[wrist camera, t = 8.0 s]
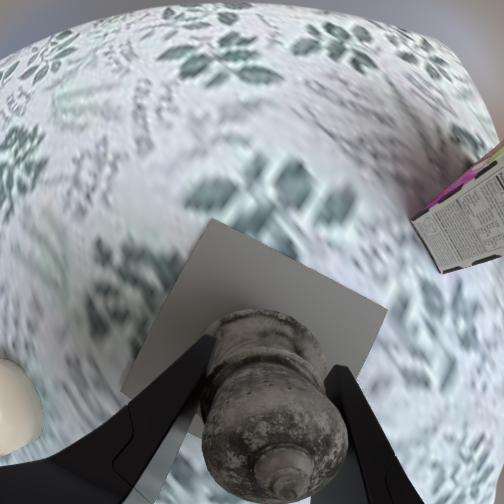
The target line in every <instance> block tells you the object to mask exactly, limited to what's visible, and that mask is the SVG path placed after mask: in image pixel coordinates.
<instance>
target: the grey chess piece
mask: <svg viewBox="0 0 504 504" xmlns="http://www.w3.org/2000/svg"><path fill="white" fill-rule="evenodd" d="M205 333H207V334H211V335H214V336H217V337H218V341H217V346H216V351H215V356H214V360H213V363H212V366H211V370H210V373H209V375H208V377H207V378H206V381H205V384H204V388H203V391H202V394H201V397H200V405H199V407H198V409H197V412H196V413H197V414H198V415H199V416H200V418H201V419H202V420H203V423H204V425H205V426H204V429H203V432H202V452H203V456H204V459H205V463H206V466H207V469H208V471H209V472H210V474H211V475H212V477H213V478H214V480H215V481H216V482H217V483H218V484H219V485H220V486H221V487H222V488H224V489H225V490H226V491H227V492H228V493H230V494H232V495H234V496H237V497H239V498H241V499H243V500H246V501H250V502H255V503H259V504H288V503H293V502H297V501H300V500H303V499H305V498H308V497H310V496H312V495H314V494H315V493H317V492H318V491H320V490H321V489H322V488H324V487H325V486H326V485H327V484H328V483H329V482H330V481H331V480H332V479H333V478H334V477H335V476H336V474H337V473H338V472H339V470H340V468H341V466H342V464H343V463H344V461H345V458H346V454H347V449H348V436H347V429H346V426H345V423H344V421H343V419H342V416H341V414H340V412H339V410H338V409H337V408H336V407H335V406H334V404H333V403H332V402H331V401H330V400H329V399H328V398H327V396H326V389H325V386H324V384H323V383H324V380H325V378H326V376H327V368H326V361H325V356H324V354H323V352H322V349H321V347H320V345H319V343H318V341H317V339H316V338H315V337H314V336H313V335H312V333H311V332H310V331H309V330H308V329H307V327H305V326H304V325H303V324H301V323H300V322H298V321H297V320H295V319H294V318H293V317H291V316H288V315H285V314H283V313H280V312H277V311H275V310H266V309H256V308H254V309H248V310H241V311H235V312H233V313H231V314H228V315H226V316H224V317H221V318H219V319H217V320H216V321H215V322H214V323H212V324H211V325H210V326H208V327H207V328H206V329H205V330H203V332H202V333H201V334H200V336H199V337H198V338H197V340H198V339H199V338H200V337H201V336H202V335H203V334H205ZM197 340H196V341H197Z"/></svg>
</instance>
